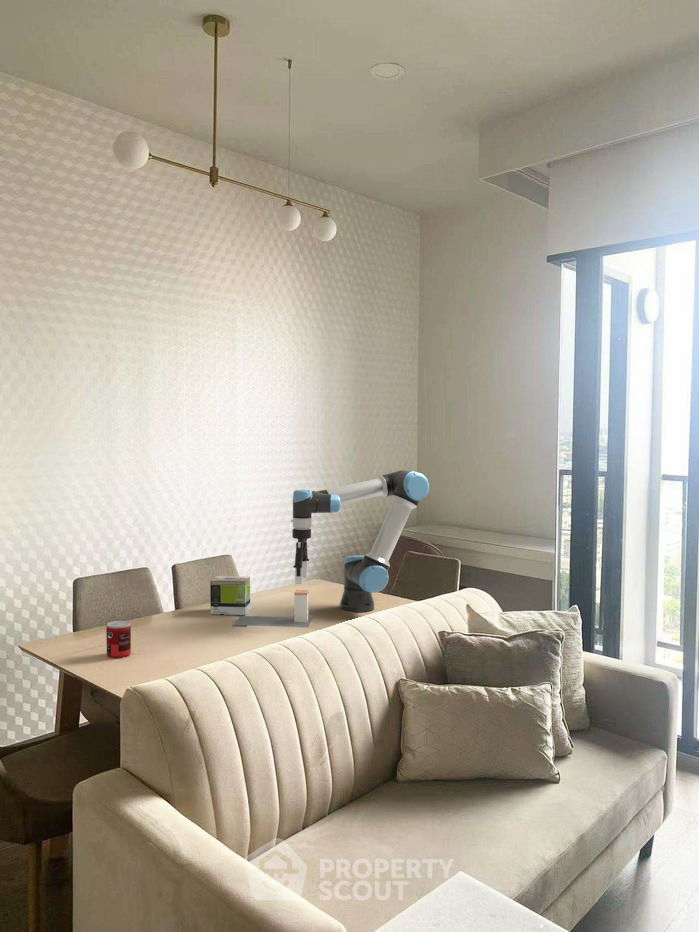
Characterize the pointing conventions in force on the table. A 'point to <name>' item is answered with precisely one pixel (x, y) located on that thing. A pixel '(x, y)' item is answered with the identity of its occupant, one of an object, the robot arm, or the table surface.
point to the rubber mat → (270, 621)
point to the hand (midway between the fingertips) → (301, 580)
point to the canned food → (118, 639)
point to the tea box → (230, 595)
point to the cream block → (301, 606)
